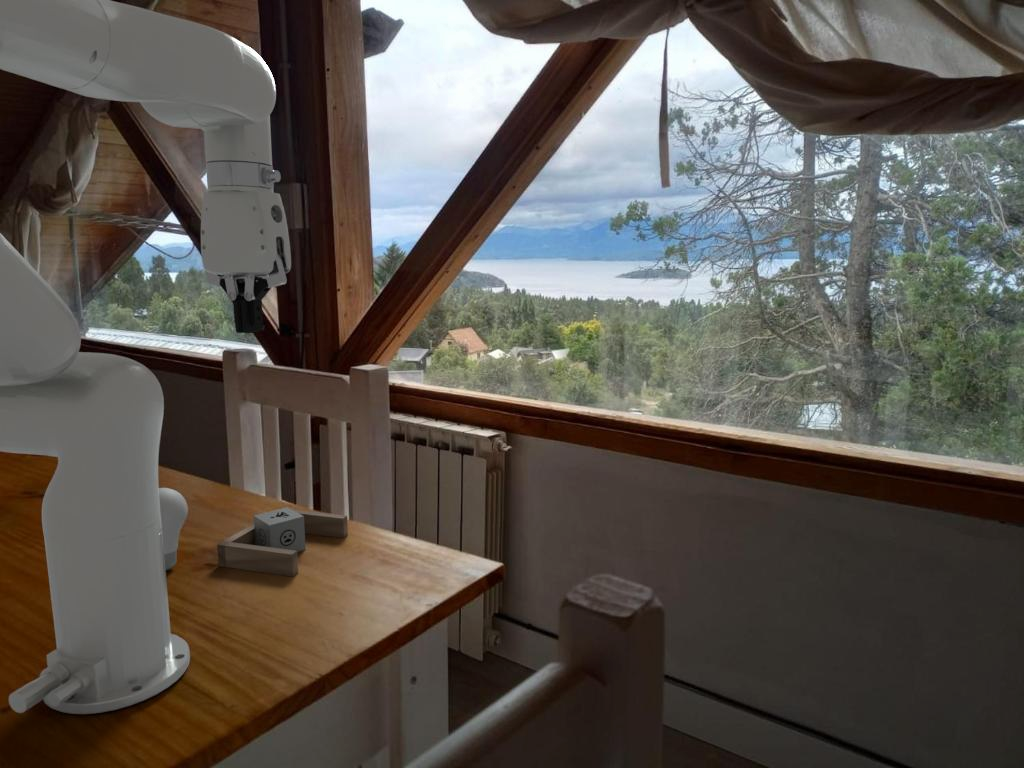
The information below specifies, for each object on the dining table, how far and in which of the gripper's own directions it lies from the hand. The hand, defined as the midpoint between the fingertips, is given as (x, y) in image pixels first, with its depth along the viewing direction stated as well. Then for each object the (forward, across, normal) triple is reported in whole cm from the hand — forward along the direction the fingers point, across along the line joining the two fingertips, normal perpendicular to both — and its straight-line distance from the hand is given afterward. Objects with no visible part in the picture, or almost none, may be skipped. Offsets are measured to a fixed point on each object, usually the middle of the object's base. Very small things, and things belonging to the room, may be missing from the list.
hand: (249, 331), depth 88 cm
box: (+31, -1, -5) cm, 32 cm away
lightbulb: (+31, +11, +5) cm, 34 cm away
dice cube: (+31, +1, -5) cm, 32 cm away
